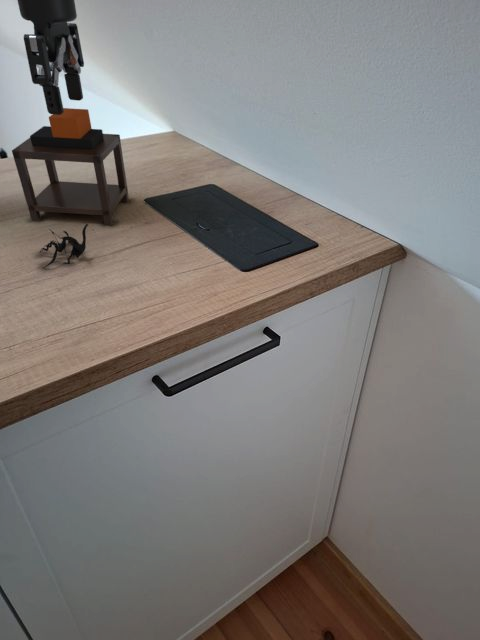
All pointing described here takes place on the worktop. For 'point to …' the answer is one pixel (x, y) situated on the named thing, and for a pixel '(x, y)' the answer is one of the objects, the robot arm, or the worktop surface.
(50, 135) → the orange cube on base
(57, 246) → the creature
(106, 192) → the rack
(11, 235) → the worktop surface
